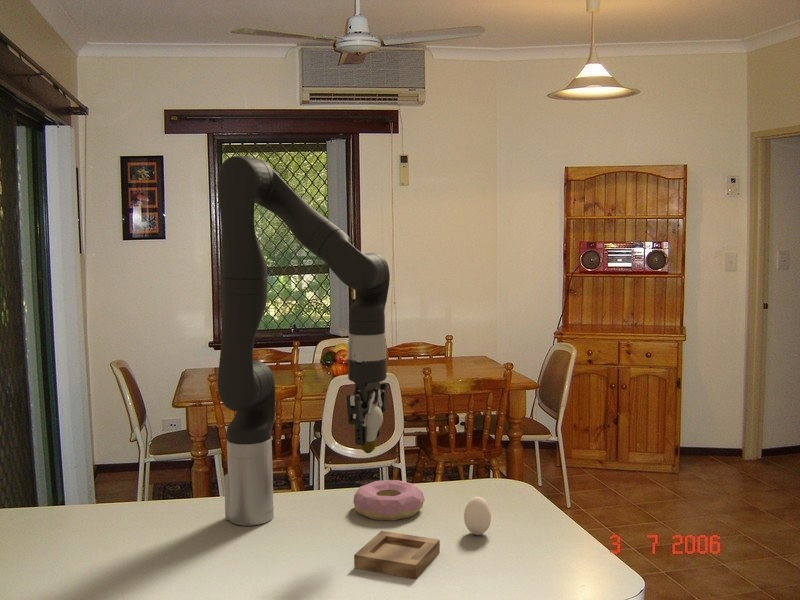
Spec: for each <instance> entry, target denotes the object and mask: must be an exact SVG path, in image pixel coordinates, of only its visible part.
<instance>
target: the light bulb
mask: <svg viewBox="0 0 800 600" xmlns="http://www.w3.org/2000/svg"><path fill="white" fill-rule="evenodd" d="M362 410H365V408H362ZM383 415H384V414H383V412H382V411H381V410H380V408H379V407H378V406H377V405H375V404H373V405H372V409H371V414H370V415H368V419H367V425H366V426H367V444H366V445H364V446H363V445H360V446H361V450H362V451H364V453H366V454H370V453H372V452H373V451H374V450H375V449H376V438H377V437H376V436H377V432H378V430H379V428H380V429H381V426H382V424H383V422H384V416H383ZM353 418H354V414H353ZM362 419H363V414H362Z"/></svg>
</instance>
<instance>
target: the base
mask: <svg viewBox="0 0 800 600" xmlns="http://www.w3.org/2000/svg"><path fill="white" fill-rule="evenodd" d="M440 543H441V542H440V539H437V538H432V537H427V536H426V537H424V536H418V535H413V534H412V535H411V534H405V533H399V532H394V531H393V532H392V531H388V530H387V531H386V530H381V531H379V532H378V533H377V534H376V535H375V536H374V537H372V539H370V540H369V541H368V542H367V543H366V544H365V545H364V546H362V547H361V548H360V549H359V550H358V551H356V552H355V553H354V554H353V559H354V561H353V562H354V566H353V567H354V569H357V570H363V571H369V572H370V571H371V572H373V573H374V572H375V573H379V574H387V575H392V576H398V577H402V578H403V577H404V578H410V579H416V580H417V578H418V577H419V576H420V575H421V574H422V573H423V572H424V571H425V570H426V569H427V567H428V566H429V565H430V564H431V563H432V562H433V561H434V560H435V558H436V557H437V556H438V555H439V554H440V551H441V546H440V545H441V544H440Z"/></svg>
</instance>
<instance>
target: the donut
mask: <svg viewBox="0 0 800 600" xmlns="http://www.w3.org/2000/svg"><path fill="white" fill-rule="evenodd" d="M425 500H426V499H425V496H424V492H423V491H422V490H421V489H420V488H419V487H418V486H416V485H415V484H414V483H411V482H407V481H403V480H399V479H397V480H396V479H393V480H391V479H389V480H375V481H372V482H369V483H367V484H363V485H361V486H359V487H358V489H357V490H356V492H355V493H354V494H353V504H354V508H355V510H356V512H358V513H359V514H360V515H362V516H363V517H364V516H365V517H366V518H369V519H372V520H375V521H376V520H378V521H396V520H400V519H401V520H402V519H406V518H412V517H413V516H414V515H415V514H417V513H418V512H419V511H421V509H422V508H423V505H424V502H425Z"/></svg>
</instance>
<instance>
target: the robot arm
mask: <svg viewBox="0 0 800 600" xmlns="http://www.w3.org/2000/svg"><path fill="white" fill-rule="evenodd" d="M217 195H218V196H217V197H218V204H219V205H218V206H219V215H220V225H221V227H220V228H221V339H220V340H221V341H220V353H219V363H218V371H217V393H218V396H219V399H220V401H221V403H222V404H223V405H224V407H225V408H226V409H228V410H230V411H233V412H235V415H234V417H233V418H232V420H231V421H230V422H229V423H228V425H227V427H226V452H227V453H226V454H227V473H226V474H225V475H224V477H223V486H224V487H223V488H224V490H223V491H224V511H225V512H224V514H225V515H224V516H225V520H226V521H229V522H230V523H232V524H235V525H236V526H237V525H238V526H244V527H246V526H258V525H262V524H265V523H268V522H270V521H271V520H273V518H274V513H275V512H274V509H275V507H274V483H273V482H274V478H273V476H274V475H273V471H274V470H273V444H272V442H273V441H272V430H273V428H274V424H275V420H276V419H275V418H276V383H275V378H274V374H273V372H272V370H271V369H270V367H269V365H267V364H266V363H264V362H263V361H260V360H254V344H255V339H256V334H257V332H258V329H259V326H260V324H261V321H262V318H263V316H264V313H265V311H266V307H267V302H268V282H269V281H268V279H269V278H268V277H269V276H268V266H267V262H266V259H265V256H264V252H263V250H262V248H261V245H260V243H259V240H258V238H257V234H256V229H255V204H256V205H259V206H260V207H263V208H264V209H266V210H268V211H270V212H271V213H273V214H274V215H275V216H277V218H279V219H280V220H281V221H282V222H283V223H284V224H285V225H286V227H287V229H289V230H290V232H291V233H292V235H293V236H294V238H295V239H296V240H297V241H298V242H299V243H300V244H301V245H302V246H303V247H305V249H307V250H308V251H309V252H311V253H312V254H313V255H315V256H316V257H317V258H319V259H320V260H322V261H323V262H324V263H325V264H326V265H327V267H328V268H329V269H330V270H331V271H332V273H333V274H334V275H335V276H336V277H337V278H338V279H339V280H340V281H341V282H342V283H343V284H344V285H345V286H347V287H348V288H350V289H351V290H354V291H356V294H355V301H354V302H353V303H352V305H350V306H349V309H348V340H347V378H348V380H349V381H350V382H353V383H354V385H355V386H354V389H353V394H347V395H346V408H347V419H348V425H350V426H351V425H352V426H354V442H355V445H357V446H361V445H363V446H364V445H366V444H367V426H366V425H367V419H368V415H370V414H371V409H372V405H373V404H375V405H377V406H378V407H379V408H380V410H381V411H382V413H386V410H387V394H388V393H387V392H388V383H387V382H383V381H386V379H387V371H388V370H387V341H386V339H387V338H386V331H385V330H386V326H385V325H386V315H385V313H386V312H385V310H386V306H387V305H386V304H387V300H388V295H389V294H388V293H389V288H390V280H391V277H390V275H391V274H390V269H389V268H390V267H389V264H388V262H387V260H386V259H385V258H384V257H383V256H382V254H378V253H375V252H368V253H363V252H362V251H360V250H359V249H357V248H356V247H355V246H354V245H353V244H352V241H351V238H350V236H349V235H348V234H347V233H346V232H344V230H342V228H340V227H338V226H337V225H336V224H334V223H333V222H332V221H330V220H329V219H328V218H326V217H325V216H324V215H322V214H321V213H320V212H318V210H316V209H314V208H313V206H311V205H310V204H309V203H307V202H306V201H305V200H304V199H303V198H302V197H300V196H299V194H298V193H296V192H295V190H294V189H292V188H291V186H289V185H288V184H287V182H285V180H284V179H282V177H281V176H280V174H278V173H277V172H276V171H275V169H273V168H272V166H271V165H269V164H268V162H266V161H265V160H262V159H259V158H258V157H247V156H240V155H233V156H230V157H228V158H227V159H225V160H224V161H223V163H221V165H220V167H219V171H218V174H217ZM362 408H365V410H362ZM353 414H354V418H353ZM362 414H363V419H362ZM381 433H382V432H381V427H380V428H379V430H378V432H377V436H376V438H378V437H380V436H381V435H382V434H381Z"/></svg>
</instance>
